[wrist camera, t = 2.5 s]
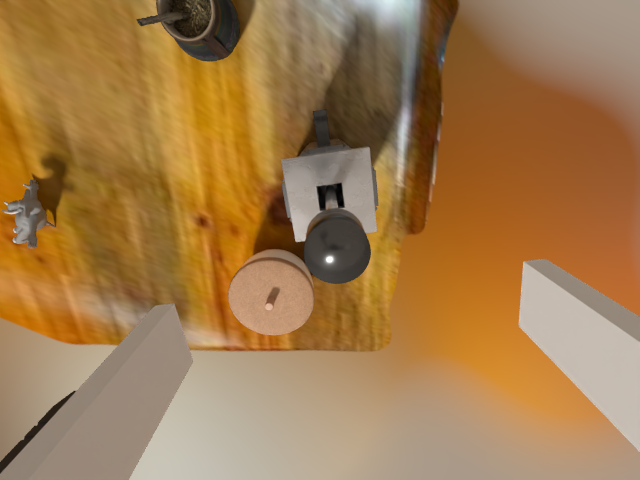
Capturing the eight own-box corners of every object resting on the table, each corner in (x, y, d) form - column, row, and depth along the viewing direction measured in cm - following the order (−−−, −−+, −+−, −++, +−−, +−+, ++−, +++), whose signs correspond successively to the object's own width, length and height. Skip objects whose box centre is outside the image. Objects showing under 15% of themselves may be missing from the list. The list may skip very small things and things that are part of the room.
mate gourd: (258, 39, 38) (236, 14, 28) (208, 80, 39) (172, 69, 30) (217, -24, 36) (179, -73, 26) (167, 22, 37) (113, -9, 28)
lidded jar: (253, 309, 50) (238, 350, 41) (233, 245, 46) (212, 274, 38) (321, 297, 49) (321, 336, 40) (307, 231, 46) (303, 258, 37)
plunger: (299, 165, 34) (276, 210, 17) (353, 157, 34) (385, 196, 16) (307, 216, 36) (294, 304, 19) (358, 210, 35) (392, 293, 18)
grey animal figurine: (-7, 200, 45) (7, 163, 40) (48, 208, 49) (67, 175, 44) (-12, 268, 41) (2, 236, 36) (48, 269, 46) (68, 241, 41)
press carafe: (283, 118, 40) (266, 117, 28) (357, 107, 40) (372, 101, 28) (299, 213, 45) (290, 248, 32) (366, 204, 44) (383, 236, 32)
